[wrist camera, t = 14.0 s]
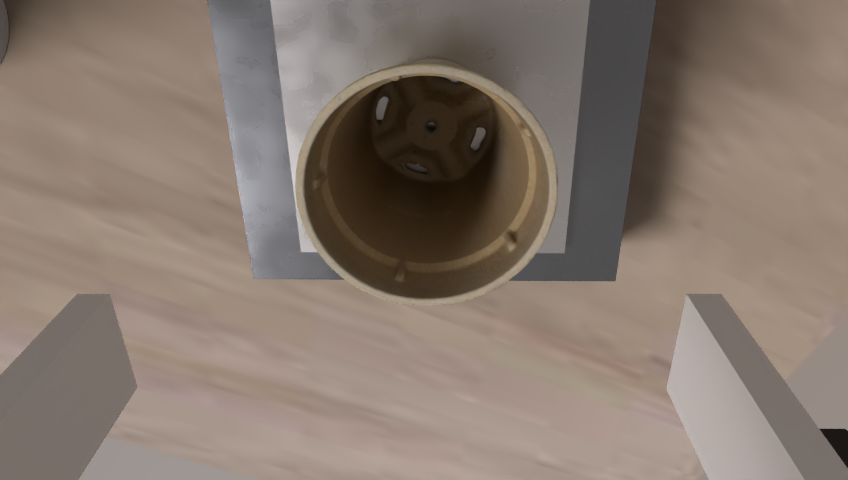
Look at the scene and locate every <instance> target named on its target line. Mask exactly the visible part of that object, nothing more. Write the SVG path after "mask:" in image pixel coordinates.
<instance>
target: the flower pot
mask: <svg viewBox="0 0 848 480" xmlns="http://www.w3.org/2000/svg"><path fill="white" fill-rule="evenodd" d="M435 76H441V77H447V78H452V79H455V80H459V81H461V83H459V84H454V83H452V82H450V81H448V80H445V79H441V78H437V77H435ZM383 97H387V98H388V103H387V106H386V110H385V113H384V117H383V122H378V121H377V120H376V114H375V112H376V108H377V104H378V102H379V100H380V99H381V98H383ZM431 122H433V123H434V124H435V127H436V129H435V130H434V131H429V130H428V129H427V124H428V123H431ZM478 127H479V128H484V129H485V131H486V136H485V138H484V140H483V142H482V143H481V144H480V148H479V149H478V150H477V151H473V150H471V148H470V147H471V144H472V141H473V139H474V137H475V134H476V131H477V130H476V129H477V128H478ZM407 163H410V164H414V165H416V164H419V166H421V167H423V168H426V169H427V173H426V174H425V173H421V172H417V171H413V170H411V169H409V168H408V167H407V166H406V164H407ZM295 189H296V199H297V207H298V210H299V214H300V217H301V221H302V223H303V226H304V228H305V231H306V233H307V236H308V237H309V239H310V240H311V242H312V244H313V246H314V247H315V249H316V250H317V252H318V253H319V254H320V256H321V257H322V258H323V259H324V260H325V262H326V263H327V264H328V265H329V266H330V267H331V269H333V270H334V271H335V272H336V273H338V274H339V275H340V276H341V277H342V278H344V279H345V280H346V281H347V282H349V283H351V284H352V285H354V286H355V287H357V288H358V289H361V290H363V291H365V292H366V293H369V294H371V295H373V296H375V297H377V298H381V299H385V300H387V301H390V302H396V303H402V304H409V305H417V306H440V305H444V306H445V305H447V304H455V303H460V302H463V301H468V300H470V299H473V298H476V297H480V296H482V295H484V294H487V293H489V292H490V291H492V290H494V289H496V288H497V287H500V286H501V285H503V284H504V283H506V282H507V281H509V280H510V279H511V278H513V277H514V276H515V275H516V274H518V273H519V272H520V271H521V270H522V269H523V268H524V267H525V266H526V265H527V264H528V263H529V262H530V260H531V259H532V258H533V257H534V256H535V254H536V253H537V252H538V251H539V249H540V247H541V245H542V244H543V242H544V240H545V239H546V237H547V235H548V232H549V230H550V228H551V225H552V222H553V219H554V215H555V213H556V207H557V201H558V170H557V164H556V160H555V156H554V152H553V149H552V147H551V144H550V142H549V140H548V137H547V135H546V133H545V131H544V130H543V128H542V126H541V125H540V123H539V121H538V120H537V119H536V117H535V116H534V115H533V113H532V112H531V111H530V110H529V109H528V108H527V107H526V106H525V104H524V103H523V102H522V101H521V100H520V99H518V98H517V97H516V96H515V95H514V94H513V93H511V92H510V91H509V90H507V89H506V88H505V87H503V86H502V85H500V84H498V83H497V82H495V81H493V80H492V79H490V78H488V77H486V76H484V75H481V74H479V73H477V72H474V71H471V70H469V69H467V68H465V67H463V66H461V65H459V64H457V63H454V62H451V61H447V60H442V59H420V60H416V61H412V62H409V63H406V64H403V65H397V66H393V67H389V68H385V69H381V70H378V71H376V72H373V73H371V74H368V75H366V76H364V77H362V78H360V79H358V80H357V81H355V82H353V83H352V84H350V85H349V86H347V87H346V88H345V89H343V90H342V91H341V92H339V93H338V94H337V95H336V96H335V97H334V98H333V99H332V100H330V101H329V102H328V103H327V104H326V106H325V107H324V108H323V109H322V110H321V111H320V113H319V114H318V115H317V117H316V118H315V120H314V121H313V123H312V124H311V126H310V128H309V130H308V132H307V134H306V136H305V139H304V141H303V144H302V147H301V150H300V153H299V157H298V162H297V168H296V181H295Z"/></svg>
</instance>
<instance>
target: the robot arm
mask: <svg viewBox="0 0 848 480" xmlns="http://www.w3.org/2000/svg"><path fill="white" fill-rule="evenodd" d="M136 388H137V384H136V381H135V377H134V374H133V370H132V367H131V364H130V360H129V357H128V354H127V350H126V347H125V344H124V340H123V337H122V334H121V330H120V327H119V323H118V320H117V317H116V313H115V310H114V307H113V303H112V300H111V297H110V294H77V295H76V296H75V297H74V298H73V299H72V300H71V301H70V302H69V303H68V304H67V305H66V306H65V308H64V309H63V310H62V311H61V312H60V313H59V314H58V315H57V316H56V317H55V318H54V319H53V320H52V321H51V322H50V323H49V324H48V325H47V327H46V328H45V329H44V330H43V331H42V332H41V333H40V334H39V335H38V336H37V337H36V338H35V339H34V340H33V341H32V342H31V343H30V345H29V346H28V347H27V348H26V349H25V350H24V351H23V352H22V353H21V354H20V355H19V356H18V357H17V358H16V359H15V360H14V361H13V362H12V364H11V365H10V366H9V367H8V368H7V369H6V370H5V371H4V372H3V373H2V374H1V375H0V480H78V479H79V478H80V476H81V475H82V473H83V472H84V470H85V468H86V467H87V465H88V463H89V462H90V461H91V459H92V457H93V456H94V454H95V453H96V451H97V450H98V448H99V446H100V445H101V443H102V442H103V440H104V438H105V437H106V435H107V434H108V432H109V431H110V429H111V428H112V426H113V424H114V423H115V421H116V420H117V418H118V417H119V415H120V413H121V412H122V410H123V409H124V407H125V406H126V404H127V402H128V401H129V399H130V398H131V396H132V395H133V393H134V391H135V390H136ZM667 391H668V394H669V396H670V398H671V400H672V402H673V404H674V406H675V409H676V411H677V413H678V415H679V417H680V419H681V421H682V424H683V426H684V428H685V430H686V432H687V434H688V436H689V439H690V441H691V443H692V445H693V447H694V449H695V451H696V453H697V456H698V458H699V460H700V462H701V464H702V466H703V468H704V471H705V473H706V475H707V477H708V479H709V480H848V431H847V430H846V429H819V428H818V427H817V426H816V424H815V422H814V421H813V420H812V418H811V417H810V416H809V414H808V413H807V411H806V410H805V409H804V407H803V406H802V405H801V403H800V402H799V400H798V399H797V398H796V396H795V395H794V394H793V392H792V391H791V389H790V388H789V387H788V385H787V384H786V382H785V381H784V380H783V378H782V377H781V376H780V374H779V373H778V371H777V370H776V369H775V367H774V366H773V365H772V363H771V362H770V360H769V359H768V358H767V356H766V355H765V354H764V352H763V351H762V349H761V348H760V347H759V345H758V344H757V343H756V341H755V340H754V338H753V337H752V336H751V334H750V333H749V331H748V330H747V329H746V327H745V326H744V325H743V323H742V322H741V320H740V319H739V318H738V316H737V315H736V314H735V312H734V311H733V309H732V308H731V307H730V305H729V304H728V303H727V301H726V300H725V298H724V297H723V296H722V294H687V295H686V300H685V305H684V309H683V314H682V319H681V323H680V328H679V333H678V337H677V342H676V347H675V352H674V356H673V361H672V366H671V370H670V375H669V380H668V384H667Z"/></svg>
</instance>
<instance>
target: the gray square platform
mask: <svg viewBox="0 0 848 480" xmlns="http://www.w3.org/2000/svg"><path fill="white" fill-rule="evenodd" d="M207 1H208V7H209V13H210V19H211V25H212V31H213V37H214V43H215V49H216V55H217V61H218V67H219V73H220V79H221V85H222V91H223V97H224V104H225V110H226V116H227V122H228V128H229V134H230V140H231V146H232V152H233V158H234V164H235V170H236V176H237V182H238V188H239V194H240V200H241V206H242V212H243V218H244V224H245V230H246V236H247V242H248V248H249V254H250V260H251V266H252V273H253V279H330V280H345V279H344V278H342V277H341V276H340V275H339V274H338V273H336V272H335V271H334V270H333V269H331V267H330V266H329V265H328V264H327V263H326V262H325V260H324V259H323V258H322V257H321V256H320V254H319V253H318V252H317V250H316V249H315V247H314V246H313V244H312V242H311V240H310V239H309V237H308V236H307V233H306V231H305V228H304V226H303V223H302V221H301V217H300V214H299V210H298V207H297V199H296V189H295V181H296V168H297V162H298V157H299V153H300V150H301V147H302V144H303V141H304V139H305V136H306V134H307V132H308V130H309V128H310V126H311V124H312V123H313V121H314V120H315V118H316V117H317V115H318V114H319V113H320V111H321V110H322V109H323V108H324V107H325V106H326V104H327V103H328V102H329V101H330V100H332V99H333V98H334V97H335V96H336V95H337V94H338V93H339V92H341V91H342V90H343V89H345V88H346V87H347V86H349V85H350V84H352V83H353V82H355V81H357V80H358V79H360V78H362V77H364V76H366V75H368V74H371V73H373V72H376V71H378V70H381V69H385V68H389V67H393V66H397V65H403V64H406V63H409V62H412V61H416V60H420V59H442V60H447V61H451V62H454V63H457V64H459V65H461V66H463V67H465V68H467V69H469V70H471V71H474V72H477V73H479V74H481V75H484V76H486V77H488V78H490V79H492V80H493V81H495V82H497V83H498V84H500V85H502V86H503V87H505V88H506V89H507V90H509V91H510V92H511V93H513V94H514V95H515V96H516V97H517V98H518V99H520V100H521V101H522V102H523V103H524V104H525V106H526V107H527V108H528V109H529V110H530V111H531V112H532V113H533V115H534V116H535V117H536V119H537V120H538V121H539V123H540V125H541V126H542V128H543V130H544V131H545V133H546V135H547V137H548V140H549V142H550V144H551V147H552V149H553V152H554V156H555V160H556V164H557V170H558V201H557V207H556V213H555V215H554V219H553V222H552V225H551V228H550V230H549V232H548V235H547V237H546V239H545V240H544V242H543V244H542V245H541V247H540V249H539V251H538V252H537V253H536V254H535V256H534V257H533V258H532V259H531V260H530V262H529V263H528V264H527V265H526V266H525V267H524V268H523V269H522V270H521V271H520V272H519V273H518V274H516V275H515V276H514V277H513V278H511V279H510V280H509V281H615V280H616V273H617V266H618V260H619V253H620V246H621V239H622V232H623V225H624V219H625V212H626V205H627V198H628V191H629V184H630V178H631V171H632V164H633V157H634V150H635V143H636V137H637V130H638V123H639V116H640V109H641V102H642V96H643V89H644V82H645V75H646V68H647V61H648V54H649V48H650V41H651V34H652V27H653V20H654V13H655V7H656V0H207ZM435 77H437V78H441V79H445V80H448V81H450V82H452V83H454V84H459V83H461V81H459V80H455V79H452V78H447V77H441V76H435ZM387 103H388V98H387V97H383V98H381V99H380V100H379V102H378V104H377V108H376V112H375V114H376V120H377V121H378V122H383V117H384V113H385V110H386V106H387ZM427 129H428V130H429V131H434V130H435V129H436V127H435V124H434V123H433V122H431V123H428V124H427ZM476 130H477V131H476V134H475V137H474V139H473V141H472V144H471V147H470V148H471V150H473V151H477V150H478V149H479V148H480V144H481V143H482V142H483V140H484V138H485V136H486V131H485V129H484V128H479V127H478V128H477V129H476ZM406 166H407V167H408V168H409V169H411V170H413V171H417V172H421V173H425V174H426V173H427V169H426V168H423V167H421V166H419V164H416V165H414V164H410V163H407V164H406Z"/></svg>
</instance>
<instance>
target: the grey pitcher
mask: <svg viewBox="0 0 848 480" xmlns="http://www.w3.org/2000/svg"><path fill="white" fill-rule="evenodd" d="M8 40H9V21H8V15H7V9H6V6H5V3H4V0H0V64H1V62H2V60H3V58H4V55H5V53H6V50H7V45H8Z"/></svg>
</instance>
